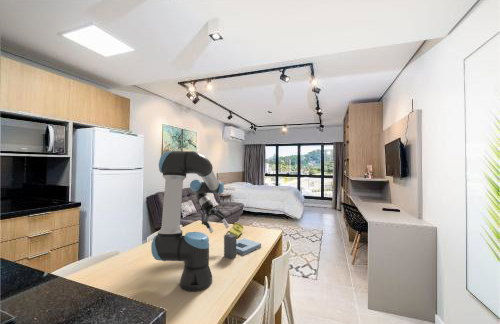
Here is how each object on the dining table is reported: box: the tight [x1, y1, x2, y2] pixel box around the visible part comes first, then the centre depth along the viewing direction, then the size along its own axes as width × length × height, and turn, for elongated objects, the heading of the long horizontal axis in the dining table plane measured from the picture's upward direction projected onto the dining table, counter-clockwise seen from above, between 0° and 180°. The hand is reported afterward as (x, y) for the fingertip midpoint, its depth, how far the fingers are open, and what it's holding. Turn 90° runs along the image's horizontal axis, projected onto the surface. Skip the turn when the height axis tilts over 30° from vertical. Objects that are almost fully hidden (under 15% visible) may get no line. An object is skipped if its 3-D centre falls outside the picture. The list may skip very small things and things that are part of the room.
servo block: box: [223, 232, 237, 260], centre depth 136 cm, size 4×6×14 cm
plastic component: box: [225, 222, 245, 239], centre depth 179 cm, size 20×7×10 cm
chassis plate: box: [236, 238, 262, 256], centre depth 150 cm, size 18×16×2 cm
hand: (220, 229), depth 143 cm, fingers open, 13 cm apart
